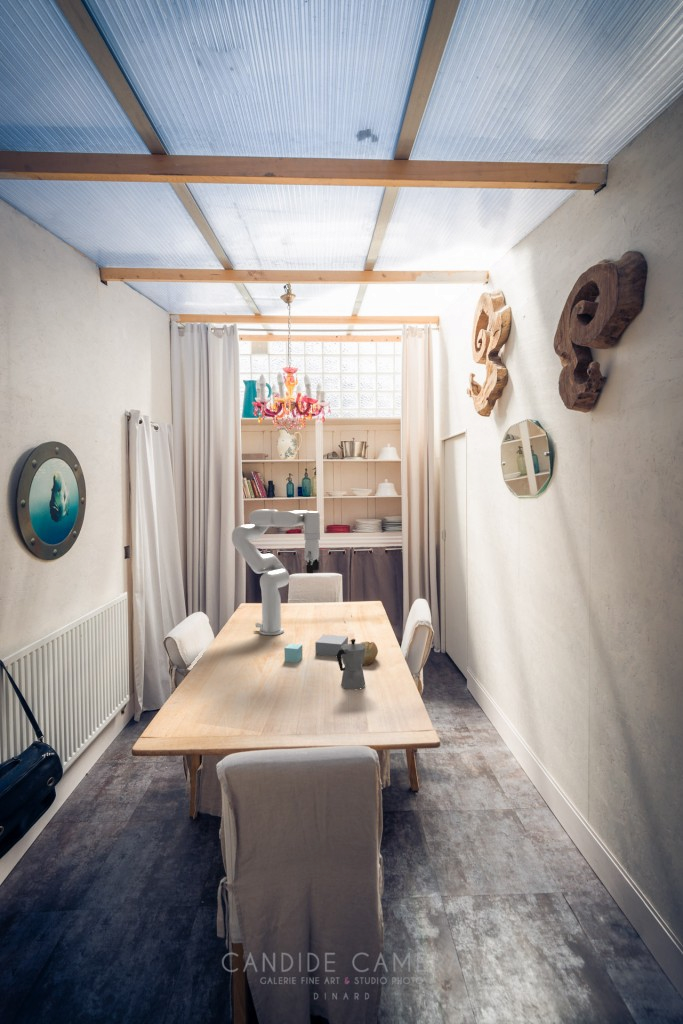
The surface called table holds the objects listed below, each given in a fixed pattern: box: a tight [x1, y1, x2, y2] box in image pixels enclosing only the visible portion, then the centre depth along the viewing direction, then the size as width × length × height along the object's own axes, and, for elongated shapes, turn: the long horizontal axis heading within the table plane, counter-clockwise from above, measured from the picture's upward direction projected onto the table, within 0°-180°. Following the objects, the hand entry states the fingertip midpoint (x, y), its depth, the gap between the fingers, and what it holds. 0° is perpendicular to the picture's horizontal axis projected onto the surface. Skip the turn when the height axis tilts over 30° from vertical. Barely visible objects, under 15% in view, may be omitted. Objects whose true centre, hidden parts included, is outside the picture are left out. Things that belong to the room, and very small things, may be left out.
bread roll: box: [360, 641, 379, 666], centre depth 232 cm, size 10×15×8 cm, turn 176°
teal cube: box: [284, 643, 303, 663], centre depth 233 cm, size 6×6×6 cm
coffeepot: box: [336, 638, 366, 691], centre depth 202 cm, size 15×9×18 cm, turn 137°
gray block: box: [314, 634, 349, 657], centre depth 243 cm, size 12×12×6 cm
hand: (312, 571), depth 260 cm, fingers open, 9 cm apart
